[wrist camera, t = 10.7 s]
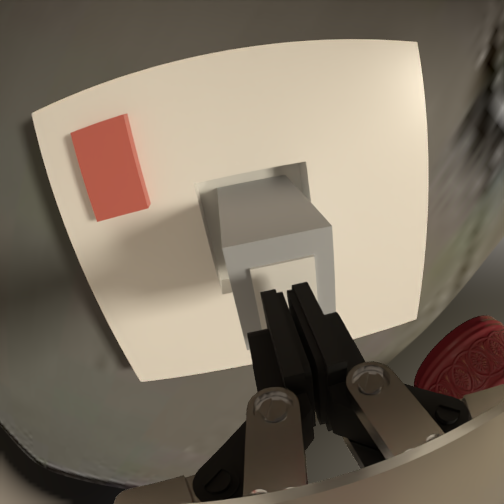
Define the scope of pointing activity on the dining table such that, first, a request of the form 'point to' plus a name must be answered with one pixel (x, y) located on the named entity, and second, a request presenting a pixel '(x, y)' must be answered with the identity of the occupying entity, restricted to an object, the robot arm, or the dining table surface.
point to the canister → (465, 359)
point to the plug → (273, 246)
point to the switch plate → (239, 171)
